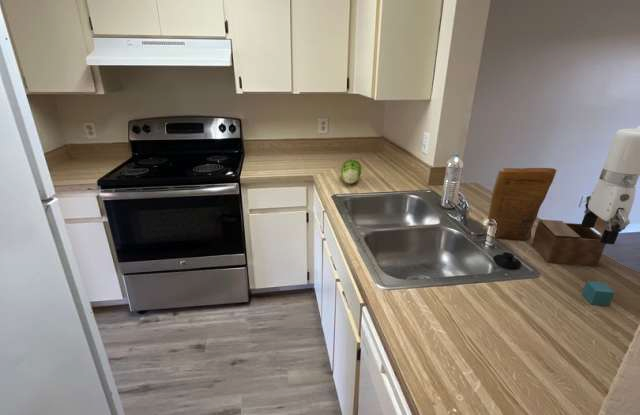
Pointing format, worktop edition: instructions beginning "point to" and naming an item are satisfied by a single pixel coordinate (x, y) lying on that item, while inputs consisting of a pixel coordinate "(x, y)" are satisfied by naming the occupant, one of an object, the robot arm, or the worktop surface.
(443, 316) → the worktop surface
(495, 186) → the wooden cutting board
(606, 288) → the block
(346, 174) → the lettuce
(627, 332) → the worktop surface
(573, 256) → the carton
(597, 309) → the worktop surface
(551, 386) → the worktop surface
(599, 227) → the flap
